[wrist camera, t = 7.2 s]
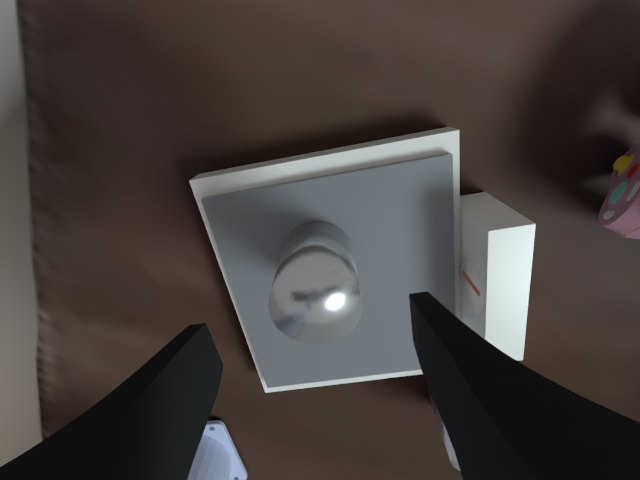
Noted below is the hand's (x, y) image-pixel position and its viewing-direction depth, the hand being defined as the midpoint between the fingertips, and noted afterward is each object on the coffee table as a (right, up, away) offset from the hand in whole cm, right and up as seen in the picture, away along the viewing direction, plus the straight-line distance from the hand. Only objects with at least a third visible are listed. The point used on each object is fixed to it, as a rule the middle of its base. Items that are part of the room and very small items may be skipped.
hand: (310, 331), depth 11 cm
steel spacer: (0, +2, +7) cm, 7 cm away
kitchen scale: (+2, +1, +10) cm, 10 cm away
